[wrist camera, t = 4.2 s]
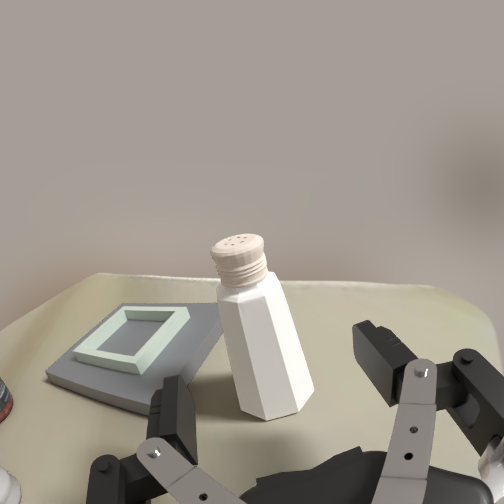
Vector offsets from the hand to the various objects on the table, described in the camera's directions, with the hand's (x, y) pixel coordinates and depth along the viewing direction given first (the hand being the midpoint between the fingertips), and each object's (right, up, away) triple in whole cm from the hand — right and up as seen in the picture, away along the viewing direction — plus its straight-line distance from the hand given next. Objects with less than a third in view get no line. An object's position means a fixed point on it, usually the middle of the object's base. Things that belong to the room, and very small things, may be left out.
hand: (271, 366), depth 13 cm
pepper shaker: (+1, -5, +7) cm, 8 cm away
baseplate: (-12, -5, +15) cm, 19 cm away
